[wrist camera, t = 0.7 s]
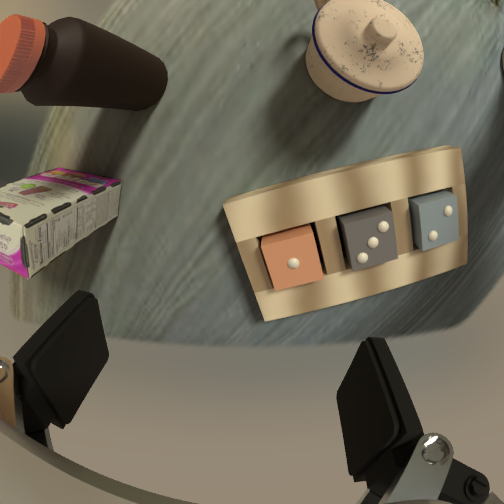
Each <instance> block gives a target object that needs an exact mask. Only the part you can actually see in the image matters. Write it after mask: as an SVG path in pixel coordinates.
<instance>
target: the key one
mask: <svg viewBox="0 0 504 504" xmlns="http://www.w3.org/2000/svg"><path fill="white" fill-rule="evenodd" d="M261 249H262V252H263V255H264V258H265V261H266V264H267V267H268V270H269V273H270V276H271V279H272V282H273V285H274V288H275V291H277V290H282V289H286V288H290V287H294V286H298V285H302V284H306V283H310V282H314V281H318V280H322V279H324V277H323V272H322V268H321V264H320V259H319V255H318V251H317V247H316V243H315V239H314V235H313V231H312V228H311V226H310V223H307V224H303V225H300V226H296V227H292V228H288V229H285V230H281V231H277V232H273V233H270V234H266V235H262V242H261Z"/></svg>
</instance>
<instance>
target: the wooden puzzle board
mask: <svg viewBox="0 0 504 504" xmlns="http://www.w3.org/2000/svg"><path fill="white" fill-rule="evenodd" d="M441 189H444V190H446V191H448V192H451V193H453V194H455V195H457V205H458V224H459V240H456V241H453V242H450V243H447V244H444V245H441V246H438V247H434V248H431V249H428V250H425V251H422V250H421V249H420V248H419V247H418V246H417V245H415V244H414V243H413V241H412V230H411V221H410V212H409V204H408V197H412V196H416V195H420V194H424V193H428V192H432V191H436V190H441ZM380 204H382V205H384V206H385V207H387V208H388V209H389V210H391V211H392V212H393V219H394V226H395V234H396V243H397V253H398V259H395V260H392V261H388V262H385V263H381V264H378V265H374V266H371V267H367V268H363V269H360V270H356V271H352V269H351V267H350V265H349V263H348V261H347V259H346V257H343V253H342V248H341V243H340V238H339V234H338V229H337V224H336V220H335V216H337V215H341V214H345V213H349V212H353V211H357V210H360V209H364V208H368V207H372V206H376V205H380ZM223 207H224V210H225V213H226V216H227V219H228V221H229V224H230V227H231V230H232V233H233V235H234V238H235V241H236V244H237V247H238V249H239V252H240V255H241V258H242V260H243V263H244V266H245V269H246V271H247V274H248V277H249V280H250V282H251V285H252V288H253V291H254V293H255V296H256V299H257V301H258V304H259V307H260V310H261V312H262V315H263V318H264V320H265V321H270V320H275V319H279V318H284V317H288V316H293V315H297V314H302V313H306V312H310V311H314V310H318V309H322V308H326V307H330V306H334V305H338V304H342V303H346V302H349V301H353V300H357V299H360V298H364V297H367V296H371V295H374V294H378V293H381V292H385V291H388V290H391V289H395V288H398V287H401V286H404V285H407V284H411V283H414V282H417V281H420V280H423V279H426V278H429V277H432V276H435V275H438V274H441V273H443V272H446V271H449V270H452V269H455V268H457V267H460V266H463V265H466V264H467V252H468V220H467V200H466V187H465V177H464V169H463V161H462V154H461V148H460V147H454V146H447V145H446V146H440V147H434V148H429V149H423V150H418V151H413V152H407V153H402V154H397V155H393V156H388V157H383V158H378V159H374V160H369V161H365V162H360V163H356V164H352V165H348V166H343V167H339V168H335V169H331V170H327V171H323V172H319V173H315V174H311V175H308V176H304V177H300V178H296V179H293V180H289V181H285V182H282V183H278V184H275V185H271V186H268V187H264V188H261V189H257V190H254V191H251V192H247V193H244V194H241V195H237V196H234V197H231V198H228V199H227V200H226V201H225V203H224V204H223ZM311 222H314V225H315V229H316V233H317V237H318V242H319V246H320V250H321V254H322V258H323V263H321V268H322V272H323V277H324V279H322V280H318V281H314V282H310V283H306V284H302V285H298V286H294V287H290V288H286V289H282V290H277V291H275V288H274V285H273V282H272V279H271V276H270V273H269V270H268V267H267V264H266V261H265V258H264V255H263V252H262V249H261V242H262V240H261V237H260V236H262V235H266V234H269V233H273V232H277V231H281V230H284V229H288V228H292V227H296V226H299V225H303V224H307V223H311Z"/></svg>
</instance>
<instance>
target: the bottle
mask: <svg viewBox="0 0 504 504" xmlns="http://www.w3.org/2000/svg"><path fill="white" fill-rule="evenodd" d="M167 81H168V76H167V70H166V67H165V65H164V63H163V62H162V61H161V60H160V59H159V58H158V57H156V56H154V55H152V54H150V53H149V52H147V51H145V50H143V49H141V48H139V47H138V46H136V45H134V44H132V43H130V42H128V41H126V40H124V39H122V38H120V37H118V36H116V35H114V34H112V33H110V32H108V31H106V30H104V29H101V28H99V27H97V26H95V25H93V24H90V23H88V22H86V21H83V20H81V19H77V18H73V17H66V18H62V19H58V20H56V21H54V22H52V23H51V24H49V25H48V26H47V25H46V23H44V22H41V21H40V20H36V19H33V18H29V17H25V16H21V15H12V16H10V17H8V18H6V19H5V20H4V21H2V23H0V93H11V92H17V91H20V90H21V92H22V93H23V95H24V97H25V98H26V100H27V101H28V102H30V103H32V104H33V105H35V106H83V107H100V108H113V109H123V110H133V111H138V110H142V109H146V108H148V107H149V106H151V105H153V104H154V103H155V102H156V101H157V100H158V99H159V98H160V97H161V95H162V94H163V92H164V90H165V88H166V85H167Z"/></svg>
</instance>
